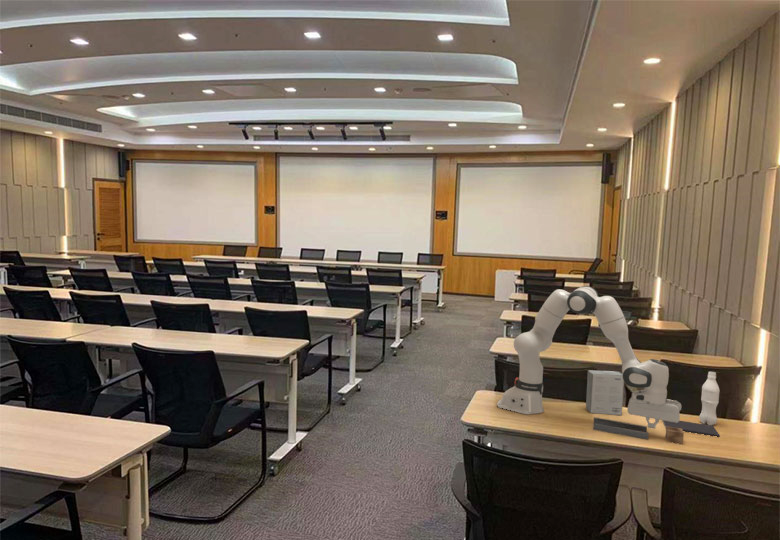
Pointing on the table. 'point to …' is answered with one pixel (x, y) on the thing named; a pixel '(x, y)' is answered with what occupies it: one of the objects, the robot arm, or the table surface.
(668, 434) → the walnut block
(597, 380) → the hard drive box
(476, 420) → the table surface
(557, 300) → the robot arm
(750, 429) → the table surface
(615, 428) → the grey parallel rails
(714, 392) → the water bottle
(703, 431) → the notebook
